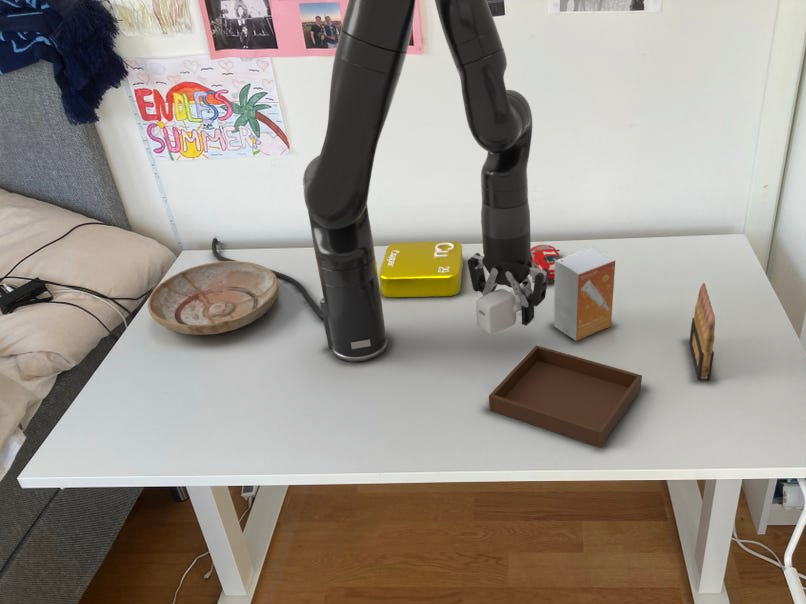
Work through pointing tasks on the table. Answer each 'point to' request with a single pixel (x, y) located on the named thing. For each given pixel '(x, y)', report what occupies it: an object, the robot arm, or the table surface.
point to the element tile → (422, 269)
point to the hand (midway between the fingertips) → (509, 318)
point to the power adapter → (497, 310)
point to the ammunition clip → (702, 336)
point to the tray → (566, 395)
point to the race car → (545, 259)
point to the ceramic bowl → (214, 297)
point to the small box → (583, 293)
